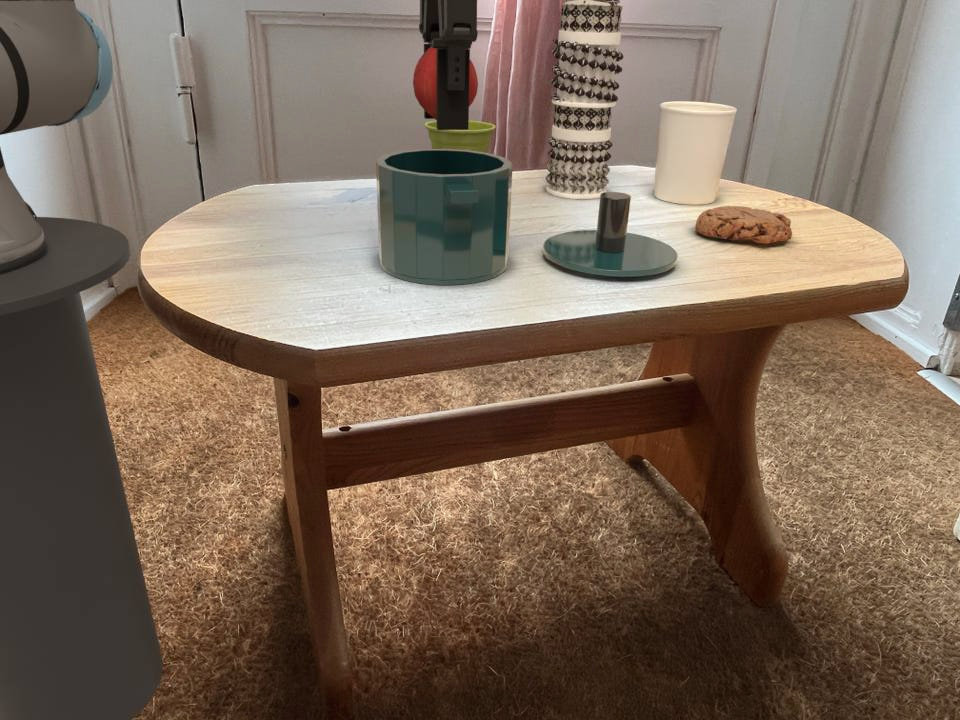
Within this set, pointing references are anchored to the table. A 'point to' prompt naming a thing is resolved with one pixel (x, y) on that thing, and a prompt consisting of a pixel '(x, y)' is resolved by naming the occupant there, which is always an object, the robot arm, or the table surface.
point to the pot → (443, 215)
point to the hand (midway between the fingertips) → (445, 122)
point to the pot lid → (610, 245)
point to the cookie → (744, 224)
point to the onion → (435, 82)
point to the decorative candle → (584, 97)
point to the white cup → (691, 150)
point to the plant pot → (461, 137)
